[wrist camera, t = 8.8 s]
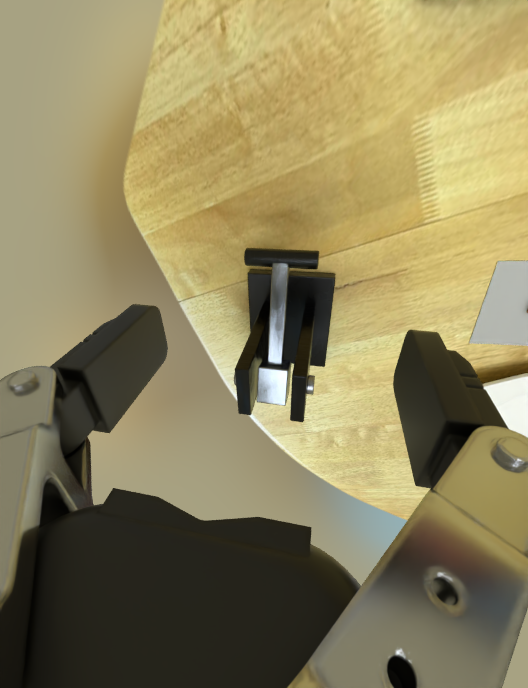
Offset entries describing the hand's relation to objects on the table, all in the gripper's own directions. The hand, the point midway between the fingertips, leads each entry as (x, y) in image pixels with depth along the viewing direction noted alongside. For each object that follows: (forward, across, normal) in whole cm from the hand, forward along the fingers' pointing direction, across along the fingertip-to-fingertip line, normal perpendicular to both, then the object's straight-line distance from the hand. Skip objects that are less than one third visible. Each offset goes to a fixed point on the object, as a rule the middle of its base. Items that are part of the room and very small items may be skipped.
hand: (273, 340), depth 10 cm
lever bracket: (+19, +1, +10) cm, 22 cm away
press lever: (+12, +1, +6) cm, 13 cm away
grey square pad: (+20, -20, +7) cm, 28 cm away
